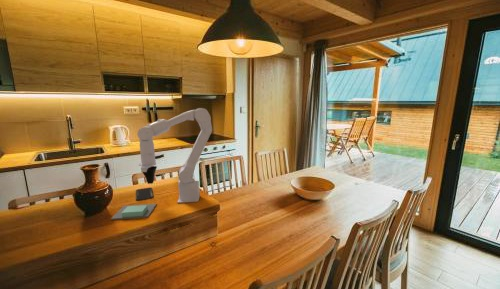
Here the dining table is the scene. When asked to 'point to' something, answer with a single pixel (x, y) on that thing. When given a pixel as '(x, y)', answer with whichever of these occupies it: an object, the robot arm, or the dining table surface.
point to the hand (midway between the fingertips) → (150, 183)
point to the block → (134, 211)
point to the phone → (144, 194)
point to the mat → (146, 215)
